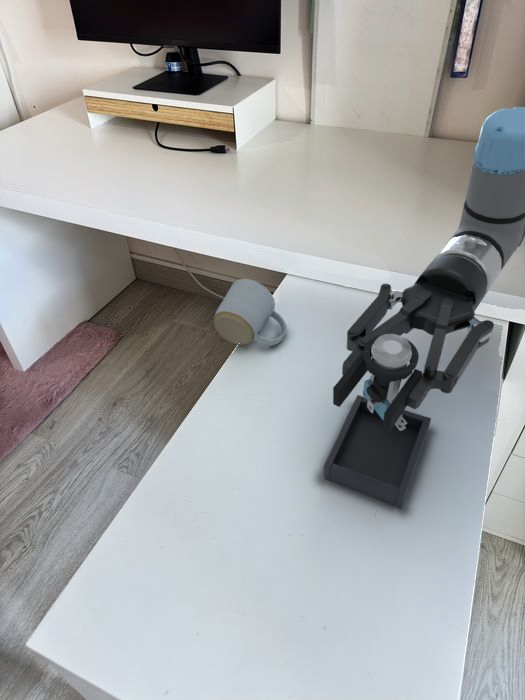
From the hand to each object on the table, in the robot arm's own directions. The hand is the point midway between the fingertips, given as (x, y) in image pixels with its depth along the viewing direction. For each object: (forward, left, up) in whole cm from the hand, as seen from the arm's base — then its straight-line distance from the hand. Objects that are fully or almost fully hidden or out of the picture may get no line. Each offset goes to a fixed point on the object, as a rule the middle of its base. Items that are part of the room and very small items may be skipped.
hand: (361, 409), depth 50 cm
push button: (-1, -5, -6) cm, 8 cm away
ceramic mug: (+24, -19, -16) cm, 35 cm away
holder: (-1, -5, -15) cm, 16 cm away
